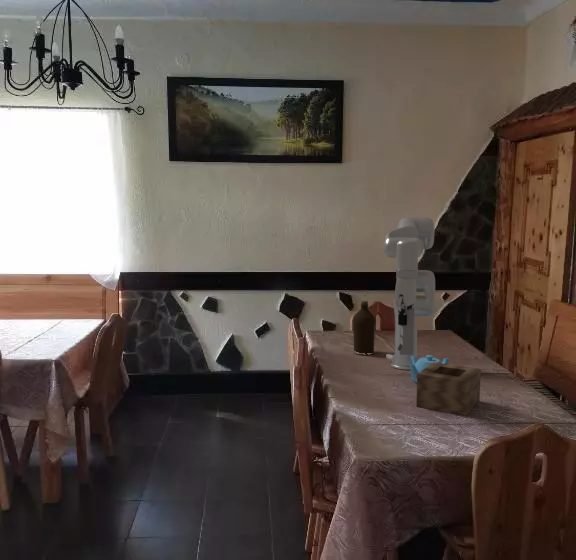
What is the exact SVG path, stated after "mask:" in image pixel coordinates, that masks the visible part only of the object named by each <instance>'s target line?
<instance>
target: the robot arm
mask: <svg viewBox="0 0 576 560" xmlns="http://www.w3.org/2000/svg"><path fill="white" fill-rule="evenodd" d="M435 232H436V231H435V224H434V220H433V219H432V218H431V217H428V216H408V217H407V216H406V217H403V218H401V220H400V221H399V222H398V224H397V228H396V229H394V230H391V231H389V232H388V233H387V234H386V235H385V238H384V242H383V243H384V244H383V250H384V255H385V256H386V257H387V258H391V259H392V258H394V259H396V270H395V271H396V272H395V273H396V276H395V278H396V281H395V282H396V283H395V290H394V291H395V292H394V299H393V312H394V353H393V354H389V353H387V354H386V356H385V358H386V360H387V361H388V360H391V363H390V366H391V367H392V368H395V369H397V370H398V369H399V370H404V371H405V370H408V371H409V370H410V364H413V363H412V359H411V356H416V358H417V357H418V355H417V354H418V353H417V352H418V351H417V349H418V325H417V323H416V322H415V321H414V340H413V354H411V355H400V354H399V353H398V352H397V349H398V347H399V345H400V325H404V326H406V325H407V315H406V312H407V307H408V306H409V308H411V309H413V310H414V318H432V317H433V316H434V314H435V309H436V278H435V273H434V272H432V271H431V270H427V269H418V268H419V267H418V266H419V262H418V261H419V258H420V257H421V255H422V254H423V253H424V250H429V249H431V248H432V247H433V246H434V242H435ZM417 293H423V295H422V294H420V295H419V294H417ZM403 308H404V309H403ZM417 359H418V358H417ZM410 371H411V370H410Z"/></svg>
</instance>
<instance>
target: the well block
mask: <svg viewBox="0 0 576 560" xmlns="http://www.w3.org/2000/svg"><path fill="white" fill-rule="evenodd" d="M481 373H482V369H481V368H476V367H470V366H462V365H456V364H449V363H448V364H442V362H441V363H435V362H433V363H432V364H430V365H429V366H428V367H426V368H425V369H423V370H422V371H421V372H419V373H418V374H417V383H416V406H417V408H423V409H428V410H433V411H438V412H442V413H449V414H455V415H460V416H464V417H466V416H467V415H468V414H469V413H471V411H472V410H473V409H474V408H475V407H476V405H478V403H479V402H480V397H481V377H482V376H481V375H482V374H481Z"/></svg>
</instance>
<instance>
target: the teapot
mask: <svg viewBox="0 0 576 560" xmlns="http://www.w3.org/2000/svg"><path fill="white" fill-rule="evenodd" d="M411 359H412V363H413V364H410V373H411V374H410V377H411V379H412V381H413V382H414V383H416V384H417V374H418V373H419V372H421V371H422V370H423V369H425V368H426V367H428V366H429V365H430V364H432V363H433V362H435V363H442V364H449V361H450V357H444V358H443V360H442V361H441V360H440V359H438V358H436V357H434V356H433V355H432V354H431V355H430V354H427V355H425V357H420V358H419V359H418V358H416V356H411Z"/></svg>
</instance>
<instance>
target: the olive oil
mask: <svg viewBox="0 0 576 560" xmlns="http://www.w3.org/2000/svg"><path fill="white" fill-rule="evenodd" d="M360 302H361V303H360V309H359V311H358V312H356V313H355V315H354V316H353V318H352V319H353V320H352V329H353V352H354V351H356V352H359V353H365V354H367V353H373V352H374V353H375V338H376V337H375V336H376V324H377V323H376V322H377V321H376V317H375V316H374V314H373V313H372V312H371V311H370V310H369V304H368V303H369V301H368V300H361V301H360ZM374 353H373V354H374Z"/></svg>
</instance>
